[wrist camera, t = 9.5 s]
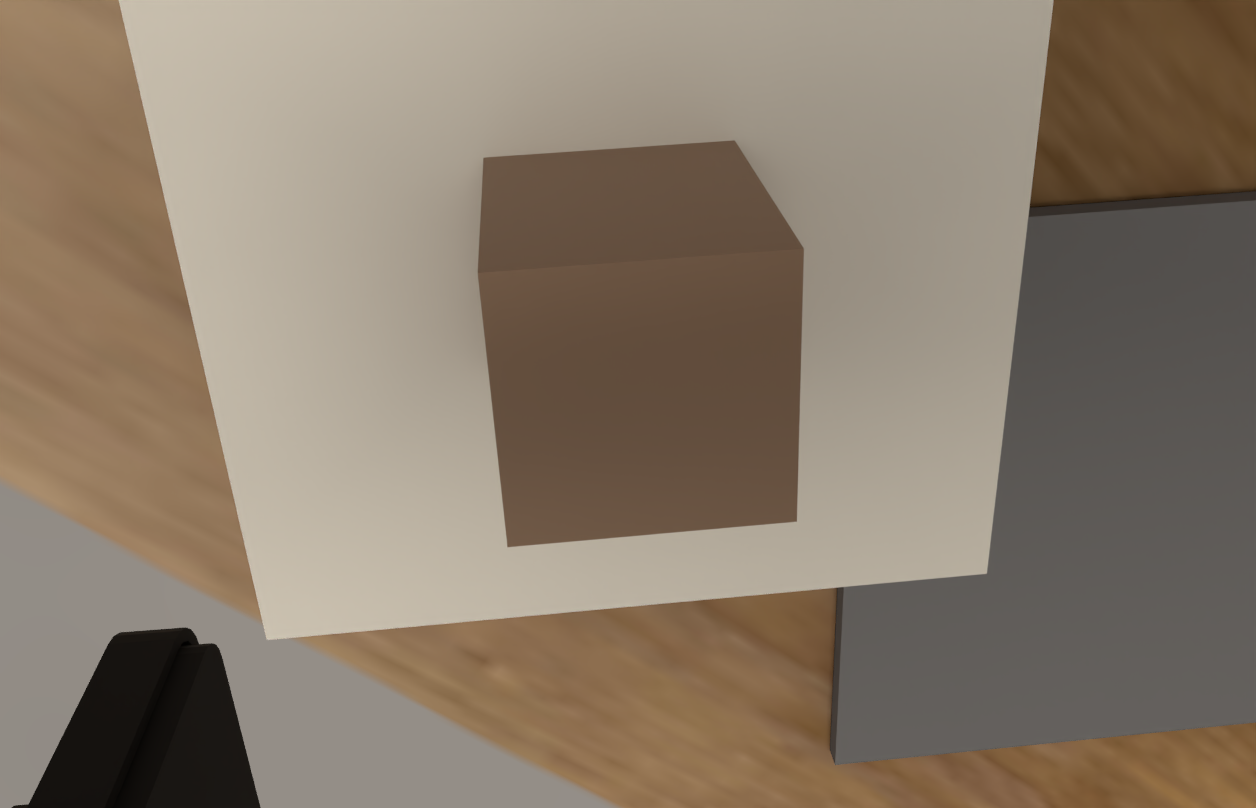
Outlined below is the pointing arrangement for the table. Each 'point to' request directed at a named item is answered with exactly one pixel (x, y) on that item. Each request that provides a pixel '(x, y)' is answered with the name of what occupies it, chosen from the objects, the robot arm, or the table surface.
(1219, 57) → the table surface
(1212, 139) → the table surface
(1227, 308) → the mat
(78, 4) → the table surface
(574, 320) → the lid
